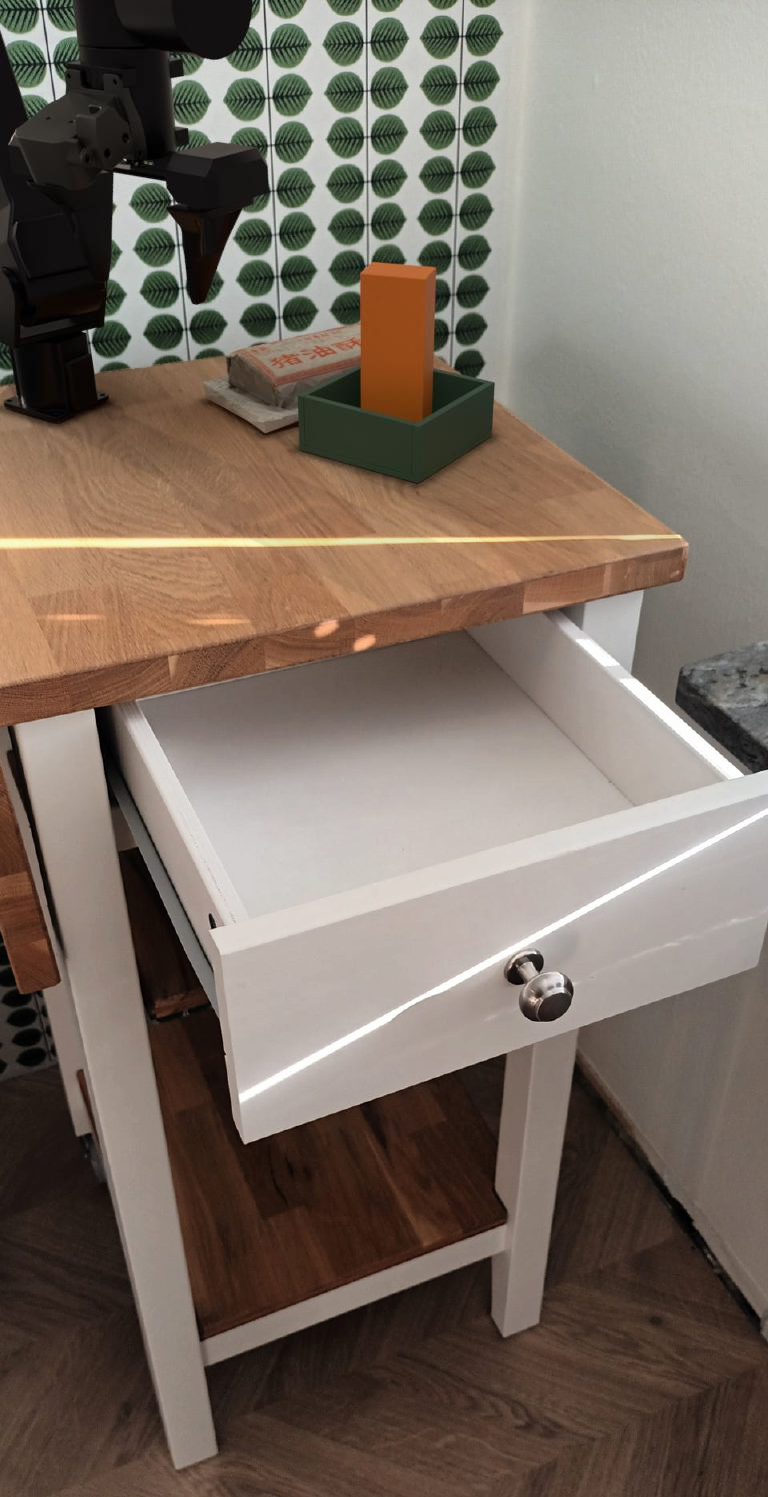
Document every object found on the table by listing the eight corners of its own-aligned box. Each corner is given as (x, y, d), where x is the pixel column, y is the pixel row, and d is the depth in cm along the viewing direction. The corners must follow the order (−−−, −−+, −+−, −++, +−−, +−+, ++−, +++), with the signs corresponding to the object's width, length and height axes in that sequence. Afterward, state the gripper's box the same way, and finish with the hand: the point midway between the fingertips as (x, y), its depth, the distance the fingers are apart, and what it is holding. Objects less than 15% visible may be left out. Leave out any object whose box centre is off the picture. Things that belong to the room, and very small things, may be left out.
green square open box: (299, 450, 99) (297, 395, 96) (378, 407, 106) (378, 355, 104) (418, 483, 94) (419, 426, 91) (492, 436, 101) (495, 382, 99)
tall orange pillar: (360, 441, 99) (359, 273, 91) (371, 427, 102) (371, 261, 94) (421, 449, 98) (425, 278, 90) (431, 433, 100) (436, 267, 93)
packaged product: (370, 306, 113) (439, 335, 107) (370, 359, 116) (437, 390, 110) (197, 344, 104) (261, 378, 98) (202, 400, 107) (264, 437, 101)
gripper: (-76, 45, 78) (-28, 298, 88) (145, 71, 70) (172, 347, 79) (54, 27, 86) (85, 262, 95) (268, 49, 78) (279, 304, 87)
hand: (149, 292), depth 89 cm, fingers open, 9 cm apart
